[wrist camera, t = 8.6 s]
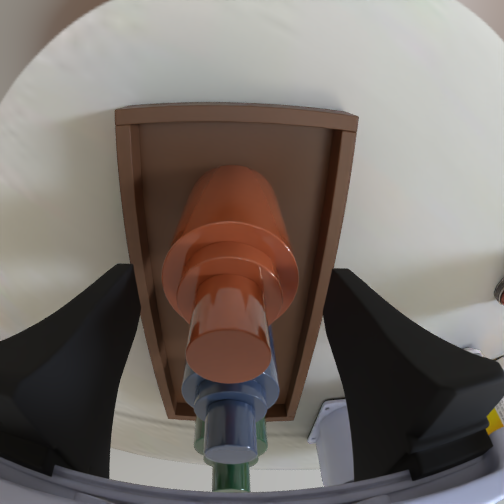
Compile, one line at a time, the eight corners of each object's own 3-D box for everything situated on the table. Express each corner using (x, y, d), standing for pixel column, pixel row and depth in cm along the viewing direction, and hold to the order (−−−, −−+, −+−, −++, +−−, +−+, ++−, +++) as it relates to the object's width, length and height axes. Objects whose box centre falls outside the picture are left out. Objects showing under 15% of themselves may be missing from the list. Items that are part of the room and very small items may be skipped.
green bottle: (259, 389, 26) (267, 501, 17) (201, 389, 26) (195, 500, 17) (263, 352, 24) (275, 482, 15) (197, 351, 23) (186, 481, 14)
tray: (291, 402, 28) (293, 420, 27) (170, 401, 28) (168, 418, 26) (345, 111, 16) (359, 116, 14) (128, 105, 15) (114, 109, 13)
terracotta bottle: (274, 249, 19) (302, 404, 10) (188, 247, 19) (155, 401, 10) (281, 166, 16) (335, 288, 7) (185, 164, 16) (123, 284, 7)
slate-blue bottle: (266, 334, 23) (279, 471, 14) (195, 333, 22) (182, 470, 13) (271, 277, 20) (295, 430, 11) (191, 276, 20) (165, 429, 11)
